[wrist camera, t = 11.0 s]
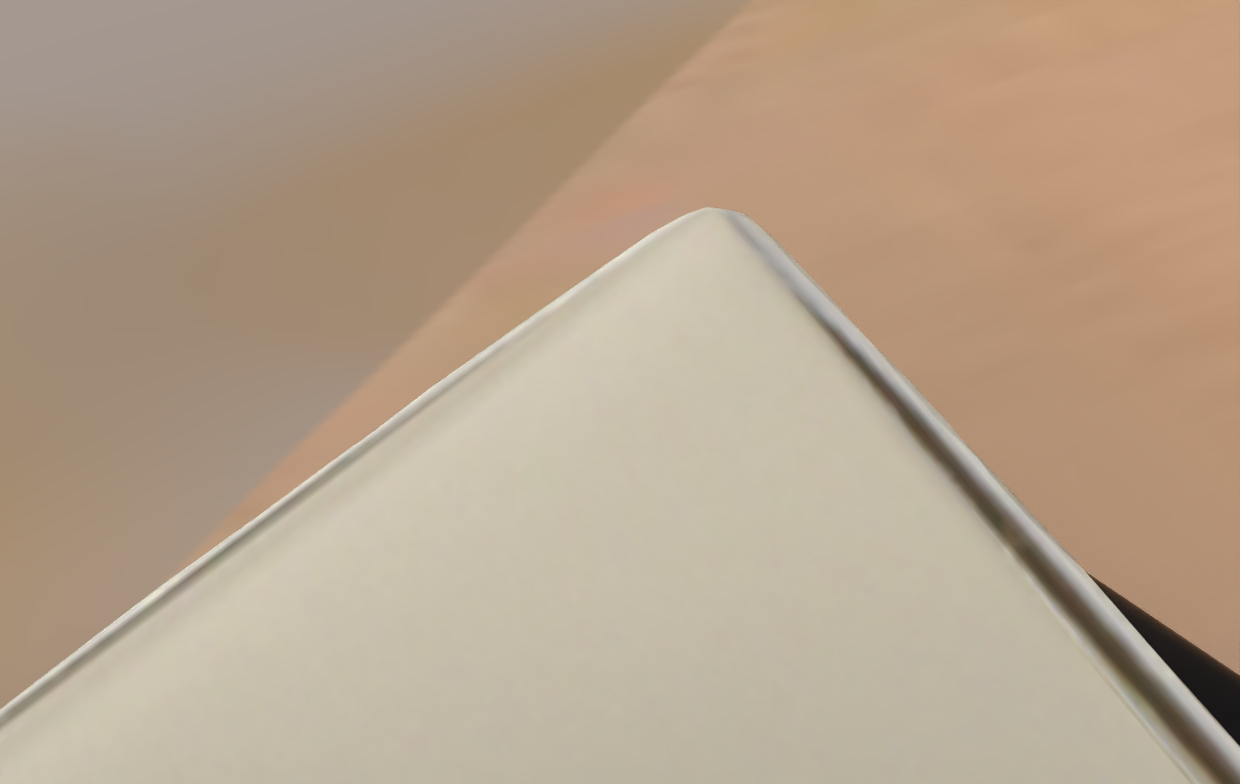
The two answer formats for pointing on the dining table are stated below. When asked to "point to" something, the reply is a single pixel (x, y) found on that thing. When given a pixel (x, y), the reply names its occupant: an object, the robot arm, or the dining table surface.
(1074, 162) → the dining table surface
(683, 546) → the box
